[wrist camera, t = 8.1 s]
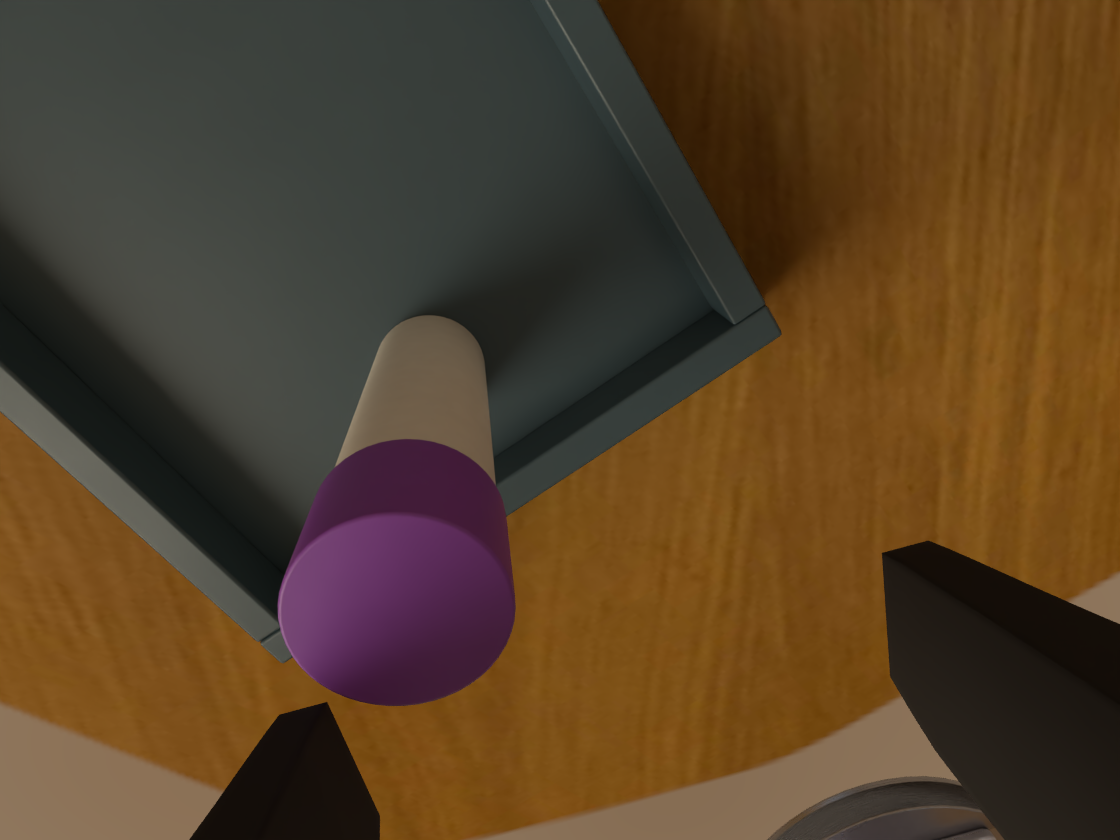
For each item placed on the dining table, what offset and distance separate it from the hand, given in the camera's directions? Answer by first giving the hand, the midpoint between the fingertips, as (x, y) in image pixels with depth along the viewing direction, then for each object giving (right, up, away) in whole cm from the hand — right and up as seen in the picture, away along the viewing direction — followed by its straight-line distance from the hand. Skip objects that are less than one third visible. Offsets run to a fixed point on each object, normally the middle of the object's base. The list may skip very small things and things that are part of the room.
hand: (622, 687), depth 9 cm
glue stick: (-4, +5, +7) cm, 9 cm away
